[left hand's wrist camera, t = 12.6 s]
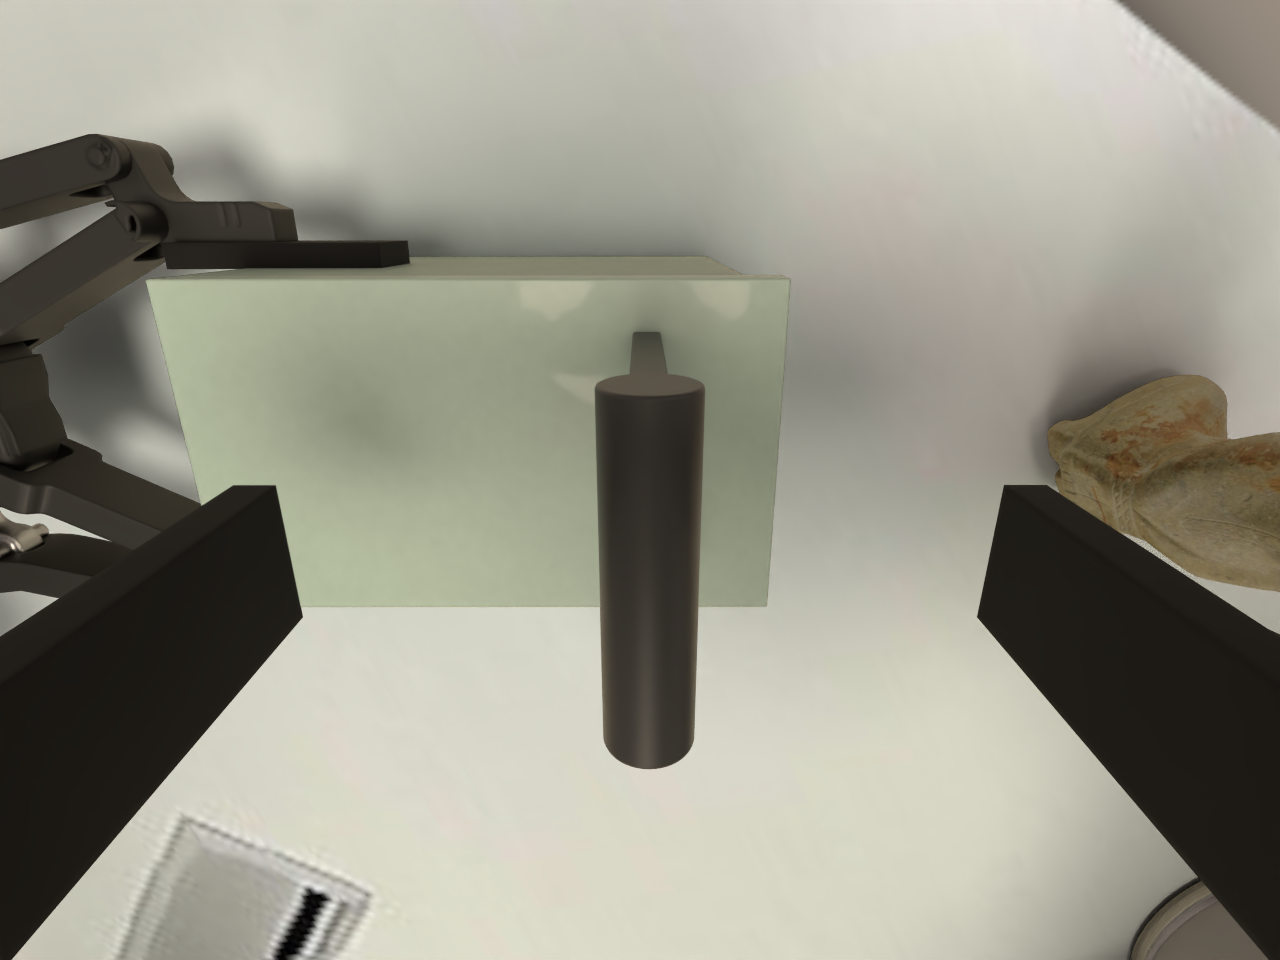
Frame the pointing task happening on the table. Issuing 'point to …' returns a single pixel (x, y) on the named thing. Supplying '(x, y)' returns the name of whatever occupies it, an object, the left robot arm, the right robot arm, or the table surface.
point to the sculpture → (1178, 479)
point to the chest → (512, 267)
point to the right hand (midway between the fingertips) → (413, 404)
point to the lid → (504, 449)
